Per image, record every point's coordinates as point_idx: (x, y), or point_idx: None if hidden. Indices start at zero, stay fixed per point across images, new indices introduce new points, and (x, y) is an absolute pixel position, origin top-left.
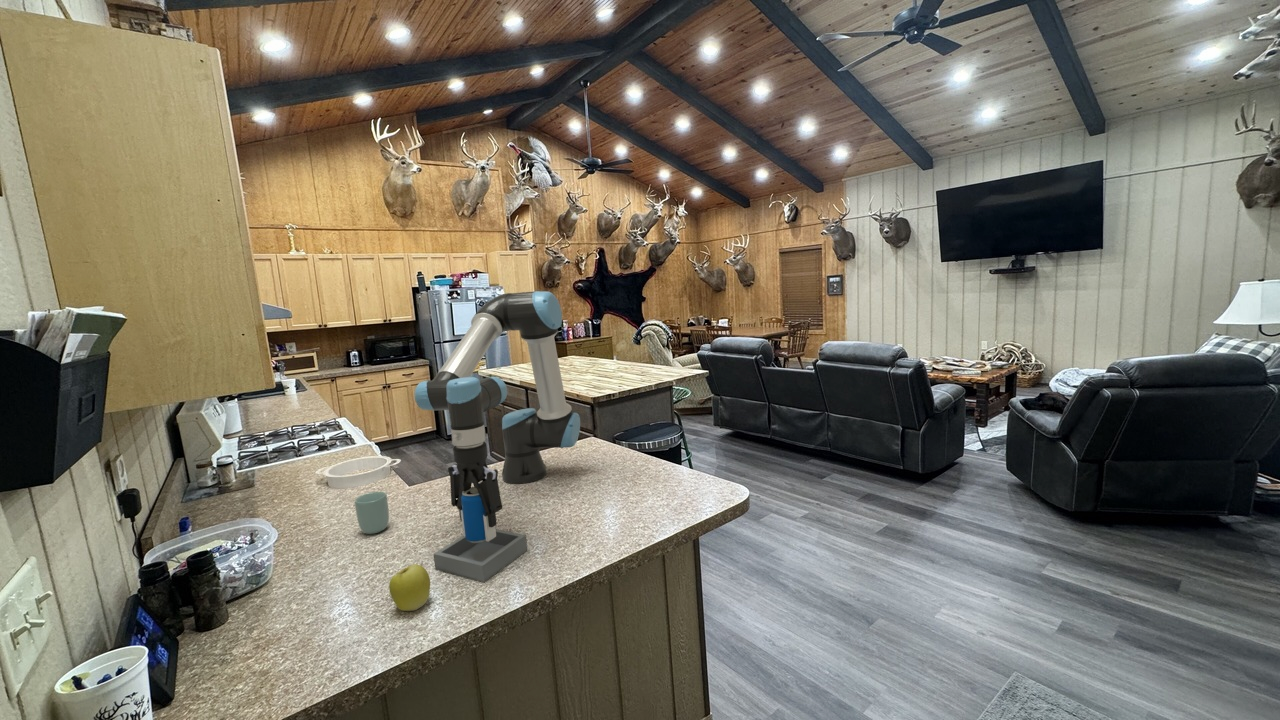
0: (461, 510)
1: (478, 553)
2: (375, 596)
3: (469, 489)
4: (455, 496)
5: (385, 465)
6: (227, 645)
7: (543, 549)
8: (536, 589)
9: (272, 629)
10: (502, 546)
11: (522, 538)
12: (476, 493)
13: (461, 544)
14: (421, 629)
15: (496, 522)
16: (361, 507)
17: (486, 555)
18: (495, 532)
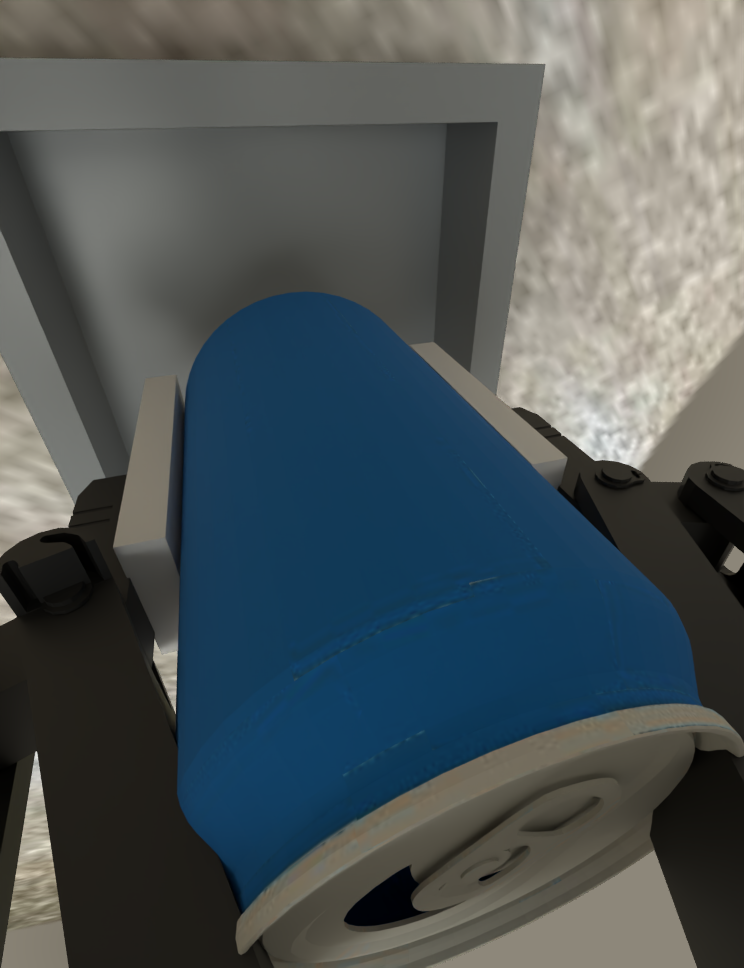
0: (163, 645)
1: (207, 315)
2: None
3: (273, 925)
4: (4, 897)
5: None
6: (34, 897)
7: (583, 8)
8: (662, 388)
9: (47, 855)
10: (285, 143)
11: (531, 129)
12: (576, 842)
13: (81, 388)
14: None
15: (541, 418)
16: None
17: None
18: (448, 359)
